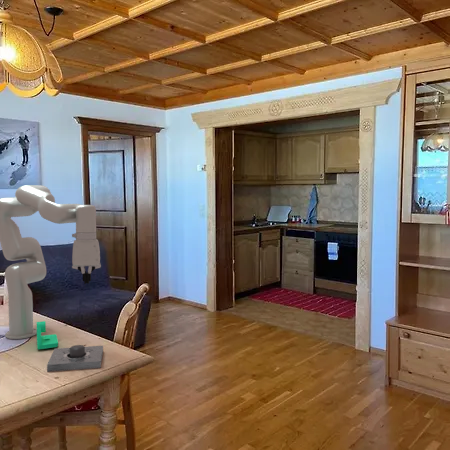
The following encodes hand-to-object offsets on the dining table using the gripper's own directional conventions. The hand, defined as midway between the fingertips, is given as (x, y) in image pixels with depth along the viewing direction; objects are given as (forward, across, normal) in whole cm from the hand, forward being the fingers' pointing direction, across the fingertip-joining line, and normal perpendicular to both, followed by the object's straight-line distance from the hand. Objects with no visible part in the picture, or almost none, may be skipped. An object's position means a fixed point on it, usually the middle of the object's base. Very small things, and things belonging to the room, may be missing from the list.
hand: (86, 282), depth 174 cm
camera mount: (+28, -17, +8) cm, 33 cm away
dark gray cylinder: (+27, -3, -10) cm, 29 cm away
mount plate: (+27, -3, -11) cm, 29 cm away
